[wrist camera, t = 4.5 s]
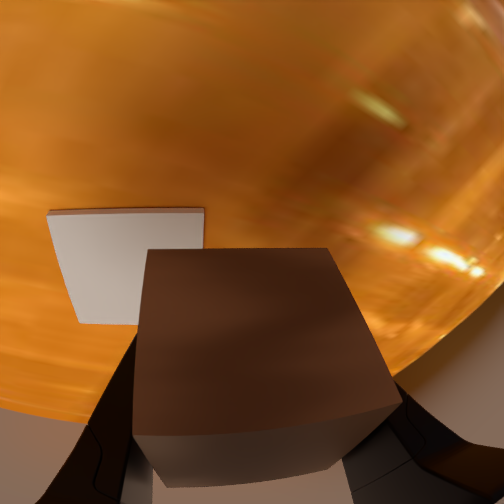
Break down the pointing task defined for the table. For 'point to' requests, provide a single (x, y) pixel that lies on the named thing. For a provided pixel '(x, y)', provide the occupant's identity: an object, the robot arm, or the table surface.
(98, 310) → the stone coaster
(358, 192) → the table surface
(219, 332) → the walnut cube
